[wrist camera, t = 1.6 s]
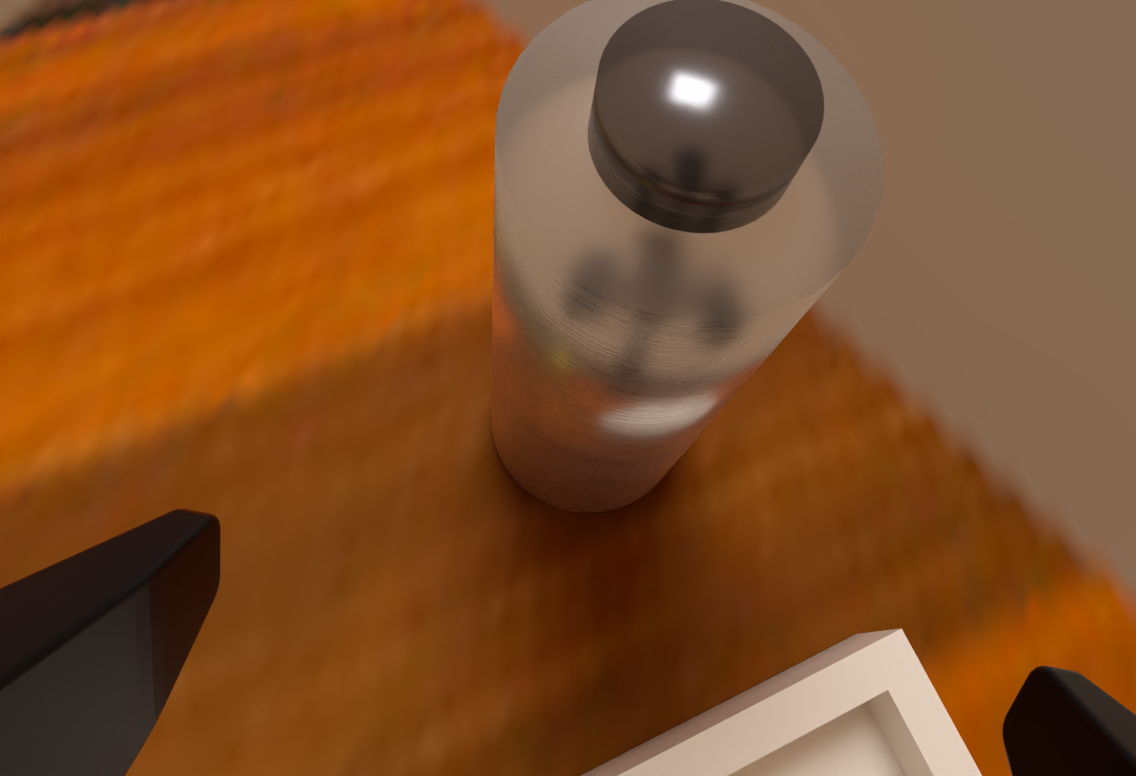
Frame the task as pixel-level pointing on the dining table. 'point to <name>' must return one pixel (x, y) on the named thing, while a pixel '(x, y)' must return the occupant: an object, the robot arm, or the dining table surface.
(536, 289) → the metal water bottle
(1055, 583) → the dining table surface
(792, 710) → the serving tray
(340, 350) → the dining table surface
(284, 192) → the dining table surface
